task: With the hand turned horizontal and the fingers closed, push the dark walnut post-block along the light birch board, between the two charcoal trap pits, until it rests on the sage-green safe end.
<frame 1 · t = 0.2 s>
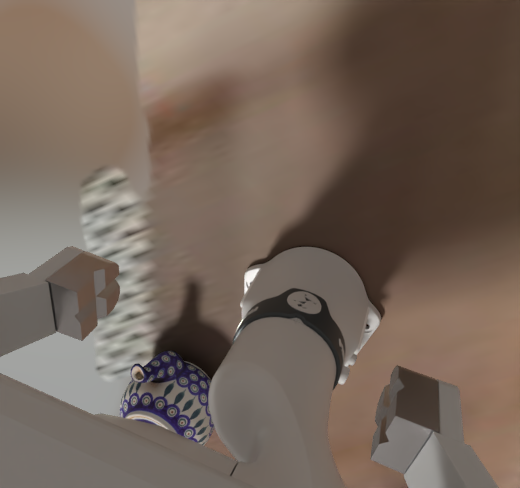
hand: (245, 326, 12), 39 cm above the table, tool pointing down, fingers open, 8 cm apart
teapot: (188, 382, 71), on the table
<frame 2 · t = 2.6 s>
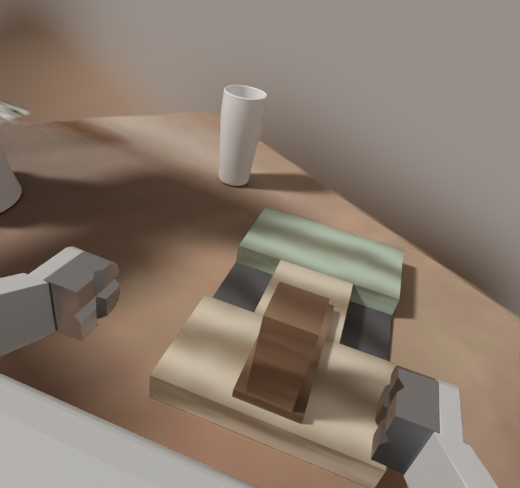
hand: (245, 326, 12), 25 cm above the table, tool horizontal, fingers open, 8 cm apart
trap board: (301, 316, 48), on the table
drinking glass: (233, 181, 72), on the table
push block: (288, 349, 40), point 3 cm above the table, touching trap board
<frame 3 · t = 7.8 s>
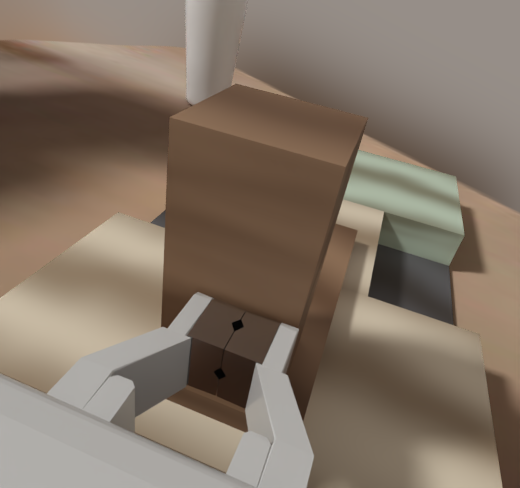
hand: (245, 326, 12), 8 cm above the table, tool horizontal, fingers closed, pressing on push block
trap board: (296, 262, 28), on the table
drinking glass: (206, 106, 53), on the table
push block: (271, 296, 20), point 3 cm above the table, touching gripper, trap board
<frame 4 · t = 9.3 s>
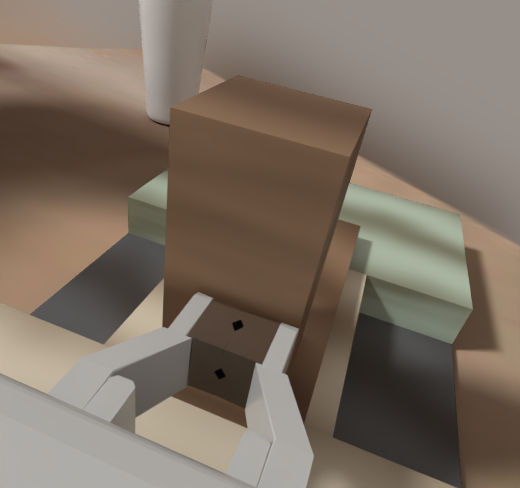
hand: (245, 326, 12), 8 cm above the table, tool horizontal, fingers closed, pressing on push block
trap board: (247, 348, 21), on the table
drinking glass: (171, 120, 46), on the table
push block: (273, 292, 20), point 3 cm above the table, touching gripper
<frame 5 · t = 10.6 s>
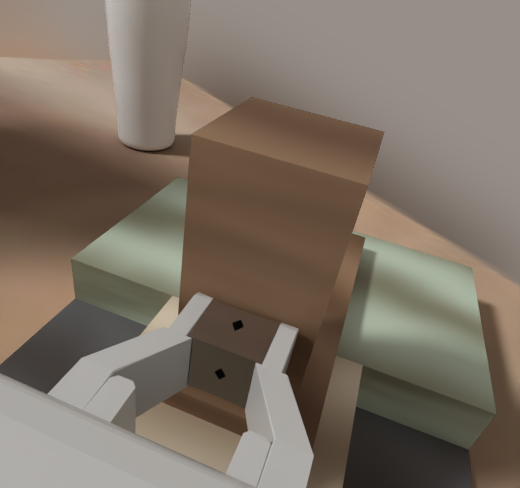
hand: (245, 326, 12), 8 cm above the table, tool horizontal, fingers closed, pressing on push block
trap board: (210, 467, 16), on the table
drinking glass: (146, 143, 41), on the table
push block: (280, 305, 20), point 3 cm above the table, touching gripper
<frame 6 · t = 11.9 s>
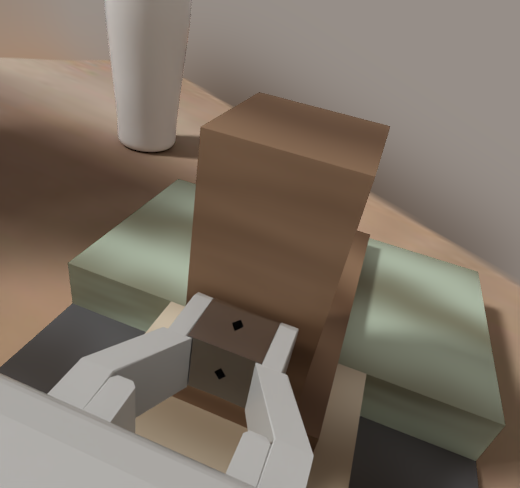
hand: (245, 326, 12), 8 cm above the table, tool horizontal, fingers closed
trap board: (209, 480, 16), on the table
drinking glass: (147, 145, 41), on the table
push block: (285, 300, 20), point 3 cm above the table, touching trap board
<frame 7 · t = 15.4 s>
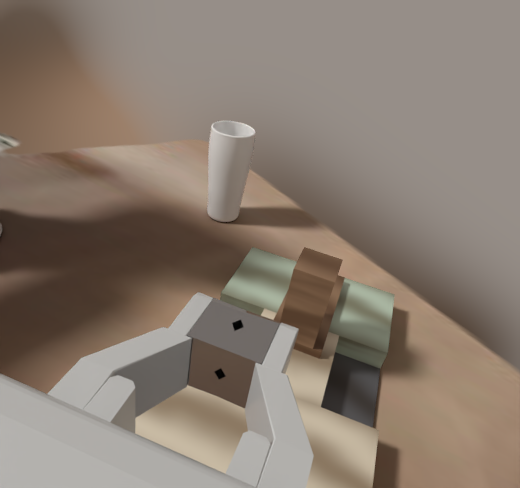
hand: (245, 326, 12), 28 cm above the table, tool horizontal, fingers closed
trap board: (283, 370, 46), on the table
drinking glass: (222, 216, 71), on the table
push block: (308, 308, 50), point 3 cm above the table, touching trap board
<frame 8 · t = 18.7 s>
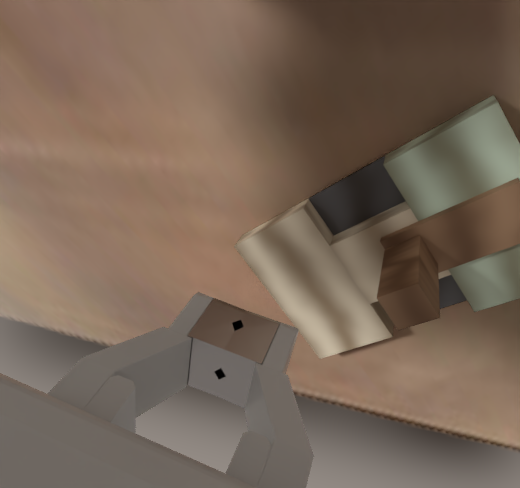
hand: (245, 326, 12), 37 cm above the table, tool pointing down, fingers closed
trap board: (390, 246, 50), on the table
push block: (457, 233, 43), point 3 cm above the table, touching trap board
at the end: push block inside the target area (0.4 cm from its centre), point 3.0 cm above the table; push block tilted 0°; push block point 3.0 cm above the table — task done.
